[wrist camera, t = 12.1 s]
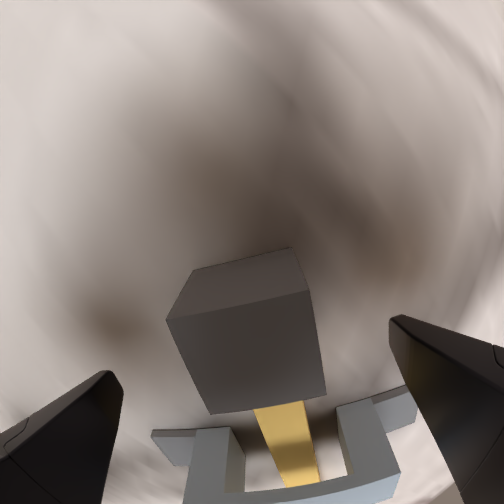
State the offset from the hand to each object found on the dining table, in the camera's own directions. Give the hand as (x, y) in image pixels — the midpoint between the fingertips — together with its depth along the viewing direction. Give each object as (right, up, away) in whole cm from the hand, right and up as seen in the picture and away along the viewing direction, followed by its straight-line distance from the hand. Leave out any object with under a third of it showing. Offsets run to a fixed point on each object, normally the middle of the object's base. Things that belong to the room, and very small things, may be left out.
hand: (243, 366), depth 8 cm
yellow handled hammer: (+3, -7, +6) cm, 10 cm away
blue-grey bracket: (+3, -9, +7) cm, 11 cm away
